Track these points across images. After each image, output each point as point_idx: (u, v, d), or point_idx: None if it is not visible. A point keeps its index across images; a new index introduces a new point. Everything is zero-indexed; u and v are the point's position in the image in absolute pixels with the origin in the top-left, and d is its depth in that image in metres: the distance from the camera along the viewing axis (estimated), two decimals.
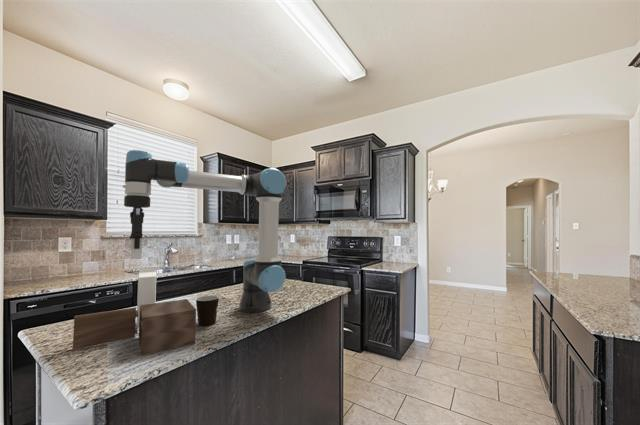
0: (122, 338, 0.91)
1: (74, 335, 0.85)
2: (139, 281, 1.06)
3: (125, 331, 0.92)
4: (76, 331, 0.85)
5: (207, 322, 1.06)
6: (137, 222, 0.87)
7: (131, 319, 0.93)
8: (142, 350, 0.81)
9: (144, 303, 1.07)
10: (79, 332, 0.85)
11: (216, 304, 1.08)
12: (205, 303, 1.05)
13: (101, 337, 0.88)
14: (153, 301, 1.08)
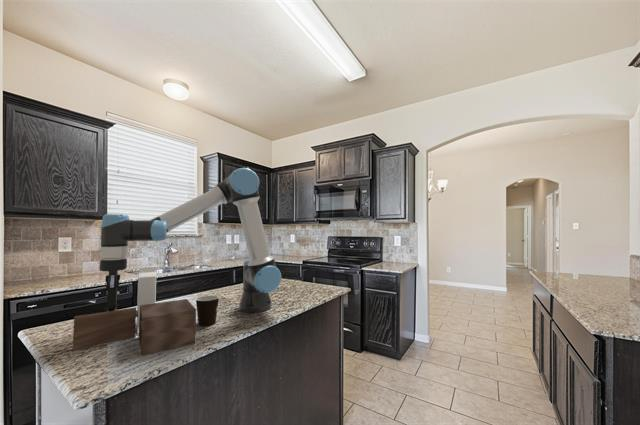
0: (122, 338, 0.91)
1: (74, 336, 0.84)
2: (139, 281, 1.06)
3: (125, 331, 0.92)
4: (76, 332, 0.84)
5: (207, 322, 1.06)
6: (111, 296, 0.90)
7: (131, 319, 0.93)
8: (142, 350, 0.81)
9: (144, 303, 1.07)
10: (79, 332, 0.85)
11: (216, 304, 1.08)
12: (205, 303, 1.05)
13: (101, 337, 0.88)
14: (153, 301, 1.08)
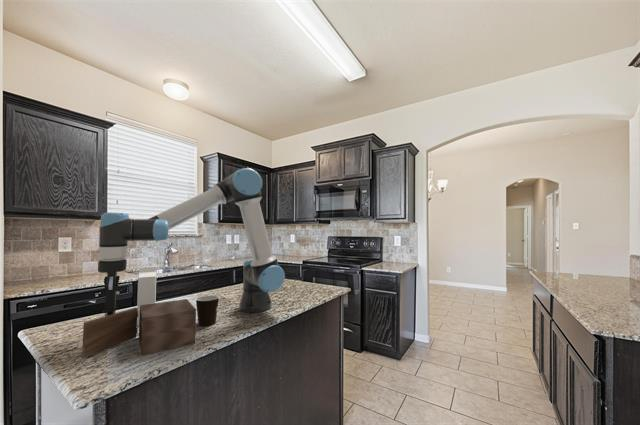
0: (126, 339, 0.90)
1: (86, 342, 0.79)
2: (139, 281, 1.06)
3: (128, 332, 0.91)
4: (88, 338, 0.79)
5: (207, 322, 1.06)
6: (109, 299, 0.86)
7: (134, 319, 0.93)
8: (142, 350, 0.81)
9: (144, 303, 1.07)
10: (90, 338, 0.80)
11: (216, 304, 1.08)
12: (205, 303, 1.05)
13: (109, 341, 0.85)
14: (153, 301, 1.08)
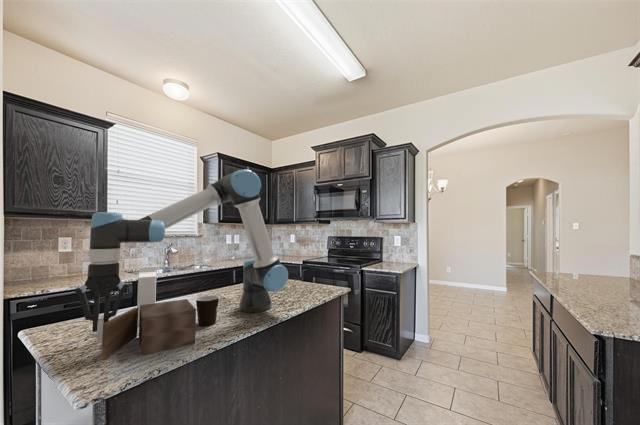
0: (131, 339, 0.90)
1: (107, 343, 0.79)
2: (139, 281, 1.06)
3: (132, 332, 0.91)
4: (108, 338, 0.79)
5: (207, 322, 1.06)
6: (82, 304, 0.80)
7: (135, 319, 0.93)
8: (142, 350, 0.81)
9: (144, 303, 1.07)
10: (109, 339, 0.80)
11: (216, 304, 1.08)
12: (205, 303, 1.05)
13: (121, 341, 0.85)
14: (153, 301, 1.08)
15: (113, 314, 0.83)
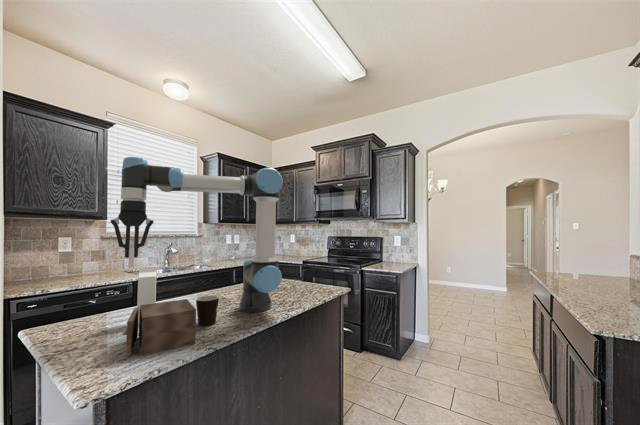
0: (136, 338, 0.91)
1: (131, 340, 0.81)
2: (139, 281, 1.06)
3: (136, 331, 0.92)
4: (131, 336, 0.81)
5: (207, 322, 1.06)
6: (116, 234, 0.94)
7: (137, 318, 0.94)
8: (142, 350, 0.81)
9: (144, 303, 1.07)
10: (132, 336, 0.82)
11: (216, 304, 1.08)
12: (205, 303, 1.05)
13: (134, 339, 0.86)
14: (153, 301, 1.08)
15: (142, 244, 0.97)
